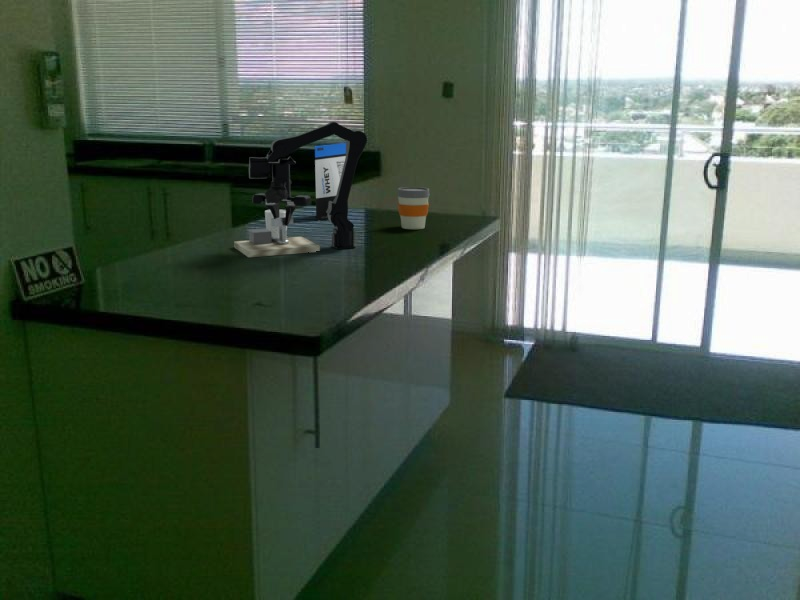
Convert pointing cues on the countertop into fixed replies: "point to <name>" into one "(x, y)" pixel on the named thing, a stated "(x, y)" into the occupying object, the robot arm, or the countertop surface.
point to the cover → (260, 236)
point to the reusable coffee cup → (413, 206)
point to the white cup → (268, 222)
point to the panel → (277, 247)
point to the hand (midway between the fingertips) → (282, 225)
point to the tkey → (281, 229)
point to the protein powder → (327, 175)
